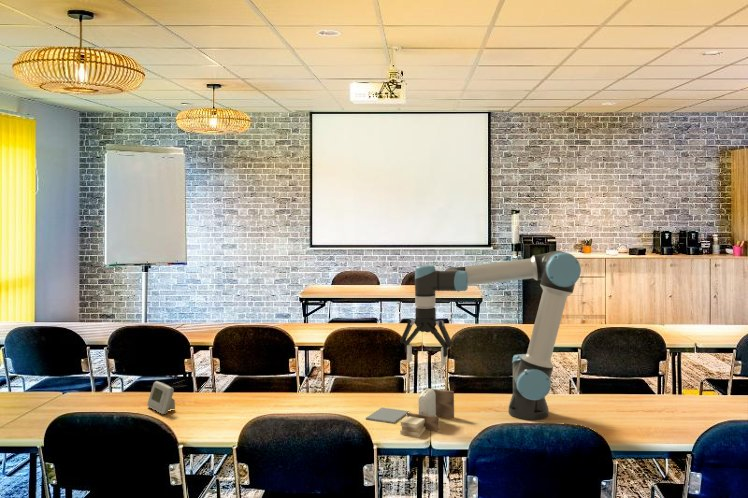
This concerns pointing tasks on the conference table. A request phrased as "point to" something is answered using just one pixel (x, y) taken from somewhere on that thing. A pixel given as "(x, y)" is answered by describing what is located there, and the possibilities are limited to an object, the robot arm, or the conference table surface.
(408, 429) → the offcut stack
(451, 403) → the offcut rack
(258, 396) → the conference table surface
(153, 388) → the digital clock
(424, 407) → the white arched block
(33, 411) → the conference table surface
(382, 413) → the slate pad
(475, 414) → the conference table surface
